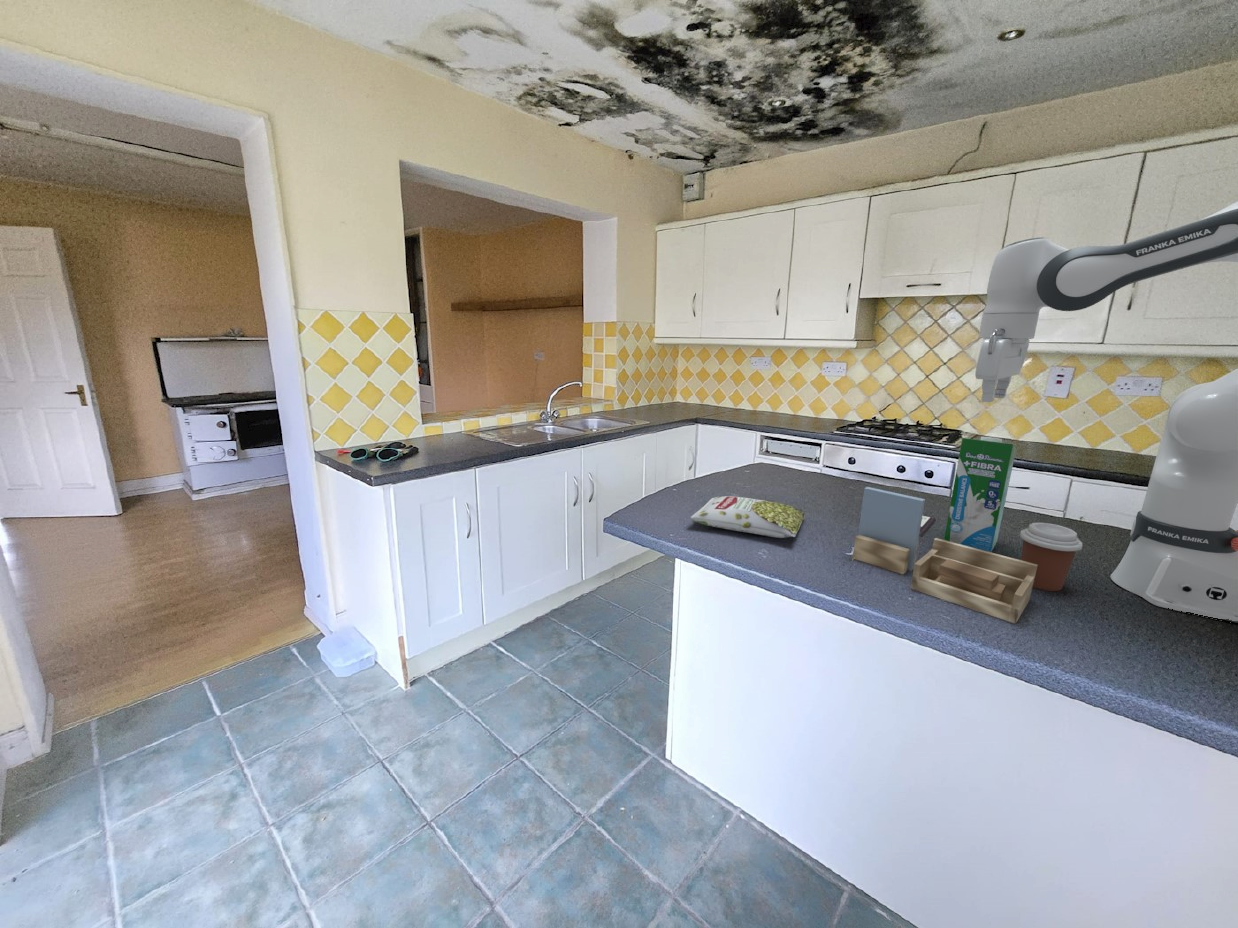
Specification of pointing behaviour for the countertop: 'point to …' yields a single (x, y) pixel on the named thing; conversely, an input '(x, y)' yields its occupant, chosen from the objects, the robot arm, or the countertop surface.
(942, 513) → the countertop surface
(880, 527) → the sheet
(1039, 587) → the coffee cup
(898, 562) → the stand
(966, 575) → the offcut
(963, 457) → the milk carton
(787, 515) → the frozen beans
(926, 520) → the chocolate bar
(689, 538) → the countertop surface
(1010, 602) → the rack
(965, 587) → the offcut
